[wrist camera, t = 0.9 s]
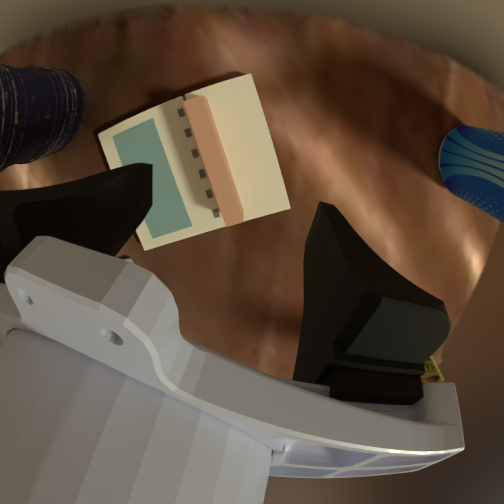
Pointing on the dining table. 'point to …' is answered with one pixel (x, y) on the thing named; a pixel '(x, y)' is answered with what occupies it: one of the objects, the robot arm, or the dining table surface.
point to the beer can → (475, 167)
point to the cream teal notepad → (166, 172)
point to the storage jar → (37, 112)
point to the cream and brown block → (237, 149)
